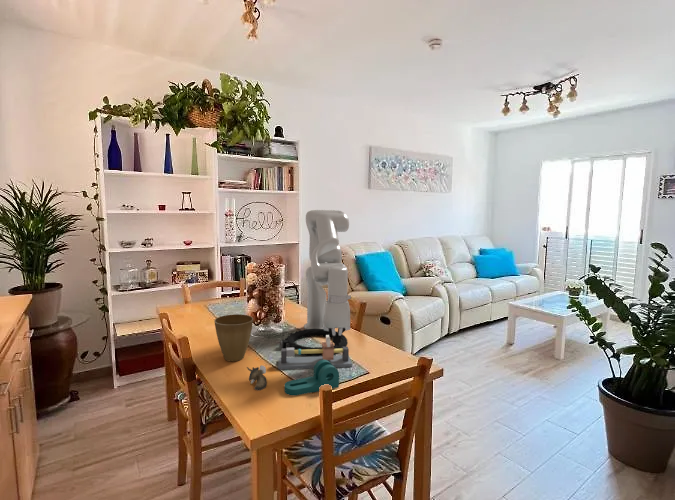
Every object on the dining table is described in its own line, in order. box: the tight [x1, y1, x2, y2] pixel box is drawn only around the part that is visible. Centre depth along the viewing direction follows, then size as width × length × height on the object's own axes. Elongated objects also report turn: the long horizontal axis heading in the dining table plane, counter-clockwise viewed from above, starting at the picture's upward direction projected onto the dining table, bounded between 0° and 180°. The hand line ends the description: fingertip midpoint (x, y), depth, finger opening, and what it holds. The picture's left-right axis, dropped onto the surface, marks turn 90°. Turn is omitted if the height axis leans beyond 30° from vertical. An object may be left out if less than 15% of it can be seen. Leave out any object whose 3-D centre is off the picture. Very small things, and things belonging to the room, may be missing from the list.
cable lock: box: [279, 328, 348, 357], centre depth 167 cm, size 28×4×30 cm
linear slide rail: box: [278, 346, 353, 370], centre depth 147 cm, size 8×28×6 cm, turn 98°
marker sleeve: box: [321, 335, 335, 360], centre depth 147 cm, size 5×4×8 cm
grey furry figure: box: [246, 365, 268, 391], centre depth 129 cm, size 8×7×9 cm
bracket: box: [283, 360, 340, 397], centre depth 127 cm, size 18×7×8 cm, turn 114°
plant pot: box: [213, 313, 254, 362], centre depth 150 cm, size 15×15×16 cm
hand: (336, 344), depth 147 cm, fingers closed
